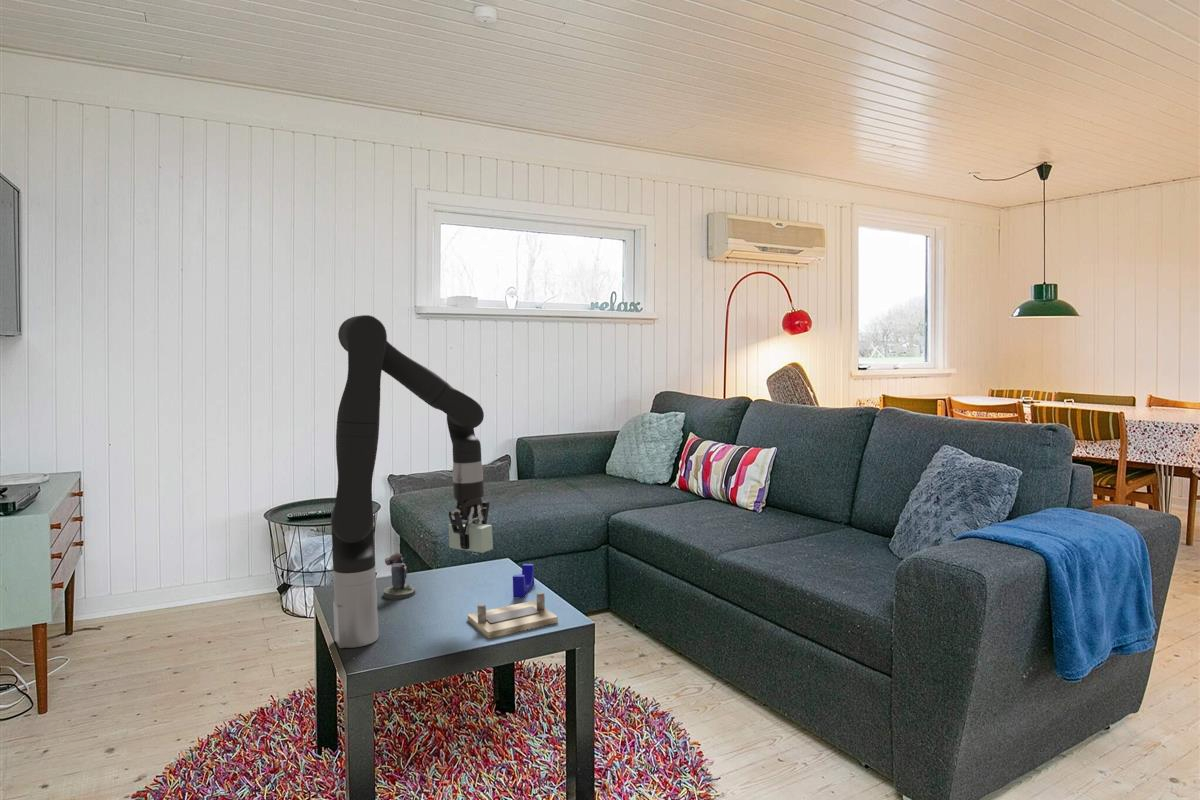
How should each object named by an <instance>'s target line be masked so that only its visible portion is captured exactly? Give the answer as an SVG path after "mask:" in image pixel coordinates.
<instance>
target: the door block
mask: <svg viewBox="0 0 1200 800" xmlns="http://www.w3.org/2000/svg"><path fill="white" fill-rule="evenodd" d="M447 524H448V523H447ZM457 528H458V526H457ZM463 528H464V529H465V525H463ZM468 534H469V549H462V548H461V546H460V535H459V534H458V533H454V532H453V529H452V525H451V523H450V524H448V540H449V541H448V542H449V543H448V545H449V548H450V549H455V550H462V551H468V552H475V553H482V554H484V553H485V552H488V551H491V550H493V549H494V542H493V525H492V524H478V523H471V525H470V526H469V533H468Z"/></svg>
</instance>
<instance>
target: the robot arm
mask: <svg viewBox="0 0 1200 800" xmlns="http://www.w3.org/2000/svg"><path fill="white" fill-rule="evenodd" d="M387 334H388V333H387V330H386V327H385V325H384V324H383V322H382V321H381V320H380V319H379V318H377V317H375V316H373V315H368V314H367V315H366V314H365V315H364V314H363V315H356V316H352V317H349V318H346V319H345V320H344V321H343V322H342V323H341V324H340V326H339V329H338V333H337V336H338V337H337V338H338V341H339V343H340V346H342V348H343V350H345V351H346V352H347V360H348V361H347V377H346V383H345V386H344V390H343V392H342V396H341V399H340V402H339V405H338V410H337V418H336V430H335V431H336V434H335V454H336V456H335V457H336V465H337V489H336V496H335V504H334V507H333V508H332V511H331V515H330V527H331V543H332V544H331V545H332V549H331V550H332V552H331V553H332V570H333V587H334V589H333V591H334V592H333V593H334V599H333V601H332V606H333V607H332V608H333V610H332V611H333V630H334V631H333V632H334V641H335V643H336V645H337V646H338V648H339V649H345V648H348V649H349V648H351V649H352V648H353V649H354V648H361V647H364V646H365V647H366V646H369V645H371V644H373V643H375V642H376V641H377V640H378V639H379V618H378V598H377V576H376V575H377V573H376V549H375V541H374V539H375V536H374V535H375V534H374V523H375V522H374V521H375V519H374V511H373V509H374V508H373V477H374V476H373V475H374V470H375V464H376V459H377V453H378V446H379V435H380V418H381V417H380V413H381V379H382V371H383V372H384V373H386V374H387V375H389V376H390V377H391V378H393V379H394V380H395V381H397V382H398V383H399V384H401V385H403V387H405V388H406V389H407V390H409V391H410V392H411V393H413V394H414V396H416V397H417V398H419V399H420V400H421V401H423V402H425V403H426V404H427V405H428V406H430V407H432V408H433V409H436V410H439V411H441V412H443V413H445V414H446V424H447V428H448V433H449V436H450V440H451V444H452V487H453V488H452V489H453V490H452V491H453V498H454V499H455V500H456V507H455V509H454V510H453V511H452V510H451V511H449V512H448V517H449V521H450V524H451V525H452V529H453V532H454V533H458V534H459V535H460V546H461V548H462V549H469V534H468V533H469V526H470V525H471V523H478V524H486V525H488V524H487V523H488V517H489V510H490V502H488V501H483V499H482V498H483V497H484V495H485V487H484V468H483V463H482V446H481V441H480V439H479V438H478V437H477V436H476V435H475V434H476V433H475V428H477V427H479V426H480V425H481V424H482V423H483V421H484V417H485V414H484V410H483V407H482V406H481V404H480V403H479V402H478V401H476V400H475V399H473V397H471V396H469V395H468V394H465V393H464V392H463V391H460V390H458V389H457V388H455V387H453V386H452V385H451V384H449V382H447V381H446V380H445V379H444V378H442V377H441V376H440V375H438V374H437V373H436V372H435V371H433V370H432V369H430V368H429V367H428V366H426V365H423V364H422V363H420V362H418V361H417V360H416V359H414V358H412V357H410V356H408V355H407V354H405V353H403V352H402V351H401V350H399V349H398V348H396V346H394V345H393V344H391V343H390V342H389V340H388V335H387ZM463 525H465V529H464V528H463ZM457 526H458V528H457Z"/></svg>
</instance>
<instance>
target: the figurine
mask: <svg viewBox="0 0 1200 800" xmlns="http://www.w3.org/2000/svg"><path fill="white" fill-rule="evenodd" d="M405 558H406V557H403V555H402V553H399V552H395V553H393V554H391V556H389V557H386V558H385V559H384V563H385V565H387V566H391V570H390V572H391V586H388V587H386V588H384V589H383V598H384V599H387V598H388V599H387V600H402V598H404V599H408V598H411V597H412V595H413V596H414V595H416V587H414V586H413V585H411V584H406V579H407V577H408V574H407V569H408V567H407V566H406V563H404V562H406V561H405ZM410 596H411V597H410ZM407 597H408V598H407Z"/></svg>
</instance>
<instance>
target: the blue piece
mask: <svg viewBox="0 0 1200 800" xmlns="http://www.w3.org/2000/svg"><path fill="white" fill-rule="evenodd" d="M534 565H535V564H534V563H523V564H522V565H521V566H522V567H521V573H518V574H513V576H512V595H513V597H524V598H525V597H526V596H527V595H526V594H528V593H529V592H530V591H531V589H532V588H533V586H534V585H535V566H534ZM531 587H532V588H531ZM528 591H529V592H528ZM525 595H526V596H525Z"/></svg>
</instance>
